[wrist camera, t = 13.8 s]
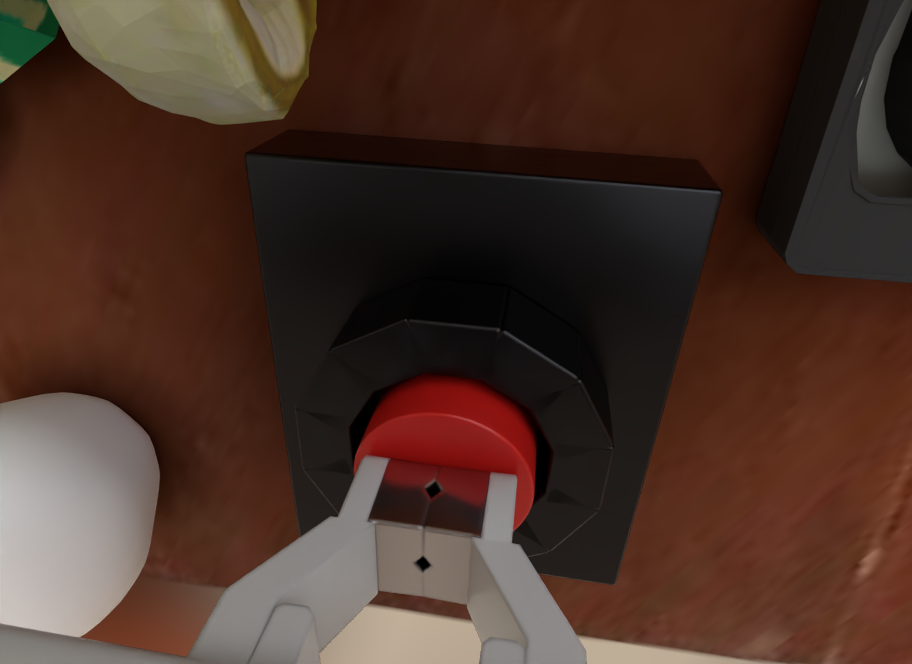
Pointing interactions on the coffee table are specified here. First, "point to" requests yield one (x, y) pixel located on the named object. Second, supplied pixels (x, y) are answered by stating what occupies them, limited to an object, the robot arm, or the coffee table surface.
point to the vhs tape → (847, 148)
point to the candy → (24, 32)
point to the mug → (198, 52)
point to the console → (482, 308)
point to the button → (455, 430)
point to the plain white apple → (71, 510)
